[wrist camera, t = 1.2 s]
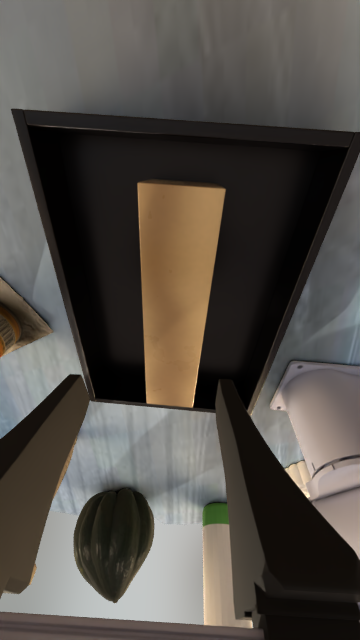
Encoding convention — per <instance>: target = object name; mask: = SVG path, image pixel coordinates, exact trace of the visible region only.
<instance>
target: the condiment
mask: <svg viewBox="0 0 360 640" xmlns="http://www.w3.org/2000/svg"><path fill="white" fill-rule="evenodd" d="M50 333H53V331H52V330H51V329H50V328H49V327H48V325H47V323H45V322H44V321H43V319H42V318H41V317H40V316H39V315H37V313H36V312H35V311H34V310H33V309H32V308H31V307H30V306H29V305H28V304H27V303H26V302H25V301H24V300H23V297H21V296H19V295H18V294H17V293H16V292H14V291H13V290H12V289H11V287H10V286H9V285H8V284H7V283H6V282H5V281H3V280H2V279H1V278H0V357H1V356H4V355H6V354H8V353H10V352H12V351H14V350H16V349H18V348H20V347H22V346H24V345H27V344H29V343H32V342H33V341H35V340H38V339H39V338H42V337H44V336H46V335H48V334H50Z"/></svg>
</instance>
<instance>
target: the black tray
mask: <svg viewBox="0 0 360 640" xmlns="http://www.w3.org/2000/svg"><path fill="white" fill-rule="evenodd" d="M11 111H12V114H13V118H14V122H15V125H16V129H17V133H18V136H19V140H20V144H21V147H22V151H23V155H24V158H25V162H26V166H27V169H28V173H29V177H30V180H31V184H32V188H33V191H34V195H35V199H36V202H37V206H38V210H39V213H40V217H41V221H42V224H43V228H44V232H45V235H46V239H47V243H48V246H49V250H50V254H51V257H52V261H53V265H54V268H55V272H56V276H57V279H58V283H59V287H60V290H61V294H62V298H63V301H64V305H65V309H66V312H67V316H68V320H69V323H70V327H71V331H72V334H73V338H74V342H75V345H76V349H77V353H78V356H79V360H80V364H81V367H82V371H83V375H84V378H85V382H86V386H87V389H88V393H89V397H90V400H91V401H93V402H104V403H114V404H125V405H136V406H146V407H157V408H168V409H178V410H189V411H199V412H210V413H216V406H215V402H216V395H217V389H218V383H219V379H231V380H232V381H233V383H234V385H235V388H236V390H237V392H238V394H239V396H240V399H241V400H242V402H243V404H244V406H245V408H246V410H247V412H248V414H249V416H251V414H252V412H253V409H254V407H255V404H256V402H257V400H258V397H259V395H260V392H261V390H262V387H263V385H264V383H265V380H266V378H267V375H268V373H269V371H270V368H271V366H272V363H273V361H274V358H275V356H276V354H277V351H278V349H279V346H280V344H281V342H282V339H283V337H284V334H285V332H286V329H287V327H288V325H289V322H290V320H291V317H292V315H293V313H294V310H295V308H296V305H297V303H298V300H299V298H300V296H301V293H302V291H303V288H304V286H305V284H306V281H307V279H308V276H309V274H310V271H311V269H312V267H313V264H314V262H315V259H316V257H317V255H318V252H319V250H320V247H321V245H322V242H323V240H324V238H325V235H326V233H327V230H328V228H329V226H330V223H331V221H332V218H333V216H334V213H335V211H336V209H337V206H338V204H339V201H340V199H341V197H342V194H343V192H344V189H345V187H346V184H347V182H348V180H349V177H350V175H351V172H352V170H353V168H354V165H355V163H356V160H357V158H358V155H359V153H360V132H348V131H333V130H318V129H304V128H289V127H274V126H259V125H245V124H230V123H215V122H201V121H186V120H171V119H157V118H142V117H127V116H112V115H98V114H83V113H68V112H54V111H39V110H23V109H11ZM149 179H165V180H178V181H192V182H206V183H218V184H220V185H221V186H222V187H224V188H225V189H226V191H225V198H224V205H223V211H222V218H221V224H220V231H219V237H218V244H217V251H216V257H215V264H214V270H213V277H212V283H211V290H210V296H209V303H208V310H207V316H206V323H205V329H204V336H203V342H202V349H201V356H200V362H199V369H198V375H197V382H196V388H195V395H194V402H193V407H192V408H190V407H180V406H169V405H158V404H148V403H147V400H146V376H145V352H144V328H143V304H142V280H141V256H140V232H139V208H138V185H137V183H138V182H141V181H145V180H149Z"/></svg>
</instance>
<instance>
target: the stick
mask: <svg viewBox="0 0 360 640" xmlns="http://www.w3.org/2000/svg"><path fill="white" fill-rule="evenodd" d="M137 185H138V208H139V232H140V256H141V280H142V304H143V328H144V352H145V376H146V400H147V403H148V404H158V405H169V406H180V407H190V408H192V407H193V402H194V395H195V388H196V382H197V375H198V369H199V362H200V356H201V349H202V342H203V336H204V329H205V323H206V316H207V310H208V303H209V296H210V290H211V283H212V277H213V270H214V264H215V257H216V251H217V244H218V237H219V231H220V224H221V218H222V211H223V205H224V198H225V191H226V189H225V188H224V187H222V186H221V185H220V184H218V183H206V182H192V181H178V180H165V179H149V180H145V181H141V182H138V183H137Z"/></svg>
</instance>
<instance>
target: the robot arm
mask: <svg viewBox="0 0 360 640" xmlns="http://www.w3.org/2000/svg"><path fill="white" fill-rule="evenodd" d="M299 365H300V366H299ZM89 401H90V397H89V394H88V392H87V389H86V386H85V384H84V381H83V378H82V376H81V375H74V374H70V375H69V376H67V377H66V378H65V379H64V380H63V381H62V382H61V383H60V384H59V385H58V386H57V387H56V388H55V389H54V390H53V391H52V392H51V393H50V394H49V395H48V396H47V397H46V398H45V399H44V400H43V401H42V402H41V403H40V404H39V405H38V406H37V407H36V408H35V409H34V410H33V411H32V412H31V413H30V414H29V415H28V416H26V417H25V418H24V419H23V420H22V421H21V422H20V423H19V424H18V425H16V426H15V427H14V428H13V429H12V430H11V431H10V432H8V433H7V434H6V435H5V436H4V437H2V438H1V439H0V598H1V595H2V593H11V594H20V593H21V592H22V591H23V590H24V589H25V588H26V587H27V586H28V585H29V584H30V581H31V577H32V572H33V568H34V564H35V560H36V556H37V553H38V549H39V545H40V541H41V537H42V534H43V530H44V527H45V523H46V520H47V516H48V513H49V510H50V507H51V503H52V500H53V497H54V494H55V491H56V488H57V485H58V482H59V479H60V476H61V473H62V470H63V468H64V465H65V462H66V460H67V458H68V455H69V453H70V451H71V449H72V446H73V444H74V442H75V439H76V437H77V435H78V432H79V430H80V428H81V425H82V423H83V421H84V418H85V415H86V412H87V408H88V405H89ZM215 406H216V422H217V429H218V435H219V441H220V447H221V454H222V460H223V466H224V472H225V480H226V493H227V505H228V518H229V533H230V548H231V565H232V583H233V602H234V612H235V619H236V620H251V621H253V628H242V627H227V626H211V625H196V624H180V623H164V622H149V621H134V620H119V619H103V618H88V617H73V616H58V615H41V614H27V613H12V612H0V640H360V366H349V365H338V364H327V363H316V362H304V361H292V362H290V363H289V365H288V367H287V369H286V372H285V374H284V376H283V378H282V380H281V382H280V384H279V386H278V388H277V390H276V393H275V395H274V397H273V399H272V401H271V403H270V408H271V409H273V410H284V411H287V412H288V415H289V418H290V421H291V423H292V426H293V429H294V431H295V434H296V437H297V440H298V442H299V445H300V448H301V451H302V453H303V456H304V459H305V461H306V464H307V467H308V470H309V472H310V475H311V478H312V480H311V481H309V482H307V483H306V487H307V490H308V493H309V496H310V497H308V498H307V497H306V496H305V494H304V493H303V492H302V491H301V489H300V488H299V487H298V486H297V485H296V483H295V482H294V481H293V480H292V478H291V477H290V476H289V474H288V473H287V472H286V470H285V469H284V468H283V466H282V465H281V464H280V462H279V461H278V460H277V458H276V457H275V455H274V454H273V453H272V451H271V450H270V448H269V447H268V445H267V444H266V442H265V441H264V439H263V437H262V436H261V434H260V433H259V431H258V429H257V428H256V426H255V424H254V423H253V421H252V419H251V417H250V416H249V414H248V412H247V410H246V408H245V406H244V404H243V402H242V400H241V399H240V396H239V394H238V392H237V390H236V388H235V385H234V383H233V381H232V380H231V379H219V383H218V389H217V395H216V402H215Z"/></svg>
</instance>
